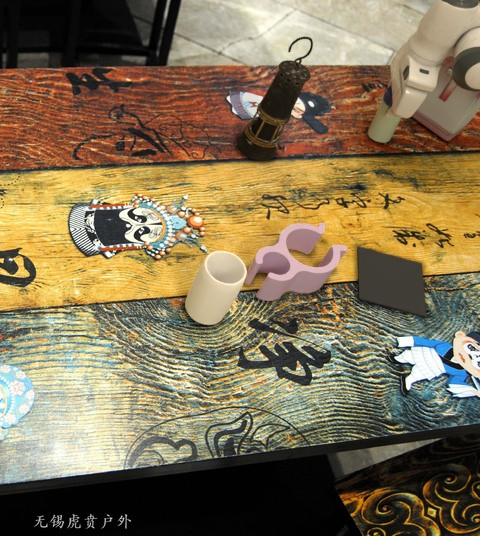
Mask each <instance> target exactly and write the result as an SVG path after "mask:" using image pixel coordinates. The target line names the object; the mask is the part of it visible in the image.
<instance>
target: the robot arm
mask: <svg viewBox="0 0 480 536" xmlns="http://www.w3.org/2000/svg"><path fill="white" fill-rule="evenodd" d="M448 56H453V57H454V63H453V68H452V78H453V80H454V82H455V83H456V84H457V85H458V86H459V87H461V88H463V89H465V90H468V91H473V92H480V0H434V2H433V3H432V4H431V6H430V7H429V8H428V10H427V11H426V12H425V14H424V15H423V17H422V18H421V20H420V21H419V23H418V26H417V29H416V31H415V32H414V33H413V34H412V35H411V36H410V37H409V38H408V40H407V41H406V42H404V43H403V44H402V45H401V47H400V48H399V49H398V50H397V52H396V53H395V55H393V58H392V59H391V61H390V65H389V67H390V70H389V71H390V80H389V82H388V85H387V88H388V87H389V86H392V101H393V104H392V107H391V108H390V107H389V108H388V109H387V111H386V117H387V118H393V117H394V116H398V117H401V119H409V118H412V117H411V116H412V115H413V114H414V113H415V112H416V110H417V109H418V108H419V107H420V105H421V104H422V103H423V101H424V100H425V98H426V96H427V94H428V92H432V91H433V90H434V89H435V87H436V85H437V79H438V74H439V71H440V68H441V64H442V63H443V61H444V60H445V59H446V57H448Z"/></svg>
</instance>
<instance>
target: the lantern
mask: <svg viewBox="0 0 480 536" xmlns="http://www.w3.org/2000/svg"><path fill="white" fill-rule="evenodd" d="M301 40H308V41H309V42H310V45H309V50H308V51H307V52H306V54H304V55H303V56H300V57H297V58H295V59H294V60H291V59H290V60H288V59H287V60H286V59H285V60H282V61H281V62H280V63H279V64H278V71H277V72H276V74H275V77H273V78H274V79H273V80H272V81H271V84H270V85H269V87H268V89H267V90H266V92H265V95H264V96H263V97H262V99H261V100H260V102H259V103H258V105H257V107H256V112H255V113H254V115H253V116H252V119H251V121H250V122H248V123H247V124H246V126H245V128H244V130H243V131H242V133H241V134H240V135H239V136H238V138H237V147H238V150H239V151H240V152H241V153H242V154H243V155H244V156H246V157H247V158H249V159H251V160H252V161H253V160H254V161H257V162H266V161H270V160H272V159H273V158H274V157H275V155H276V153H277V149H278V150H279V151H282V150H283V147H282V146H281V141H282V134H283V132H284V131H285V127H286V125H287V124H288V123H289V122H290V119H291V117H292V114H293V110H294V108H295V106H296V104H297V101H298V99H299V97H300V95H301V92H302V91H303V88H304V86H305V84H306V83H307V82H309V81H310V80H311V77H312V75H311V72H310V69H309V68H308V67H307V66H305V65H304V64H302V62H303V59H306V58H308V56H310V54H311V53H312V51H313V49H314V48H313V47H314V41H313V38H311V37H310V36H300V37H297V38H296V39H295V40H293V41H292V42H291V43H290V45H289V46H288V50H287V51H288V52H287V53H291V52H292V51H291V50H292V47H293V46H294V45H295V44H297V42H299V41H301ZM256 117H257V118H256ZM281 126H282V128H281ZM280 129H281V130H280Z"/></svg>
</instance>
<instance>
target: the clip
mask: <svg viewBox="0 0 480 536" xmlns="http://www.w3.org/2000/svg"><path fill="white" fill-rule="evenodd" d="M326 227H327V224H325V223H324V222H319V223H318V225H317V226H316V225H313V224H309V223H304V222H298V223H292V224H290V225H288V226H286V227H285V228H283V230H282V231H281V232H280V234H279V236H278V238H277V239H276V241H275V242H274V244H273V245H267V246H263V247H261V248H260V249H259V250H258V251H257V252H256V254H255V255H254V258H253V259H252V261H251V263H250V264H249V267H248V268H247V269H246V270H247V275H246V278H245V281H244V283H243V284H245V285H250V284H251V283H252V282H253V280H254V278H255V277H256V274H258V273H264V274H267V276H266V277H265V279H264V280H263V282H262V284H261V285H260V287H259V289H258V290H257V292H256V293H255V298H257V299H259V300H261V301H266V302H271V301H276V300H279V299H280V298H281V297H282V296H283V294H285V293H286V292H287V293H288V292H295V293H299V294H311V293H314V292H317V291H319V290H320V289H321V288H322V287H323V286H324V284H325V283H326V282H327V280H328V279H329V278H330V276H331V275H332V273H333V272H334V270H335V269H336V268H337V266H338V265H339V263H340V261H341V260H342V259H343V258H344V256H345V254H346V253H347V252H348V247H347V246H346V245H342V244H338V243H337V244H332V245H331V246H330V248H329V249H328V251H327V252H326V253H325V255H324V256H323V259H321V261H320V262H319V264H318V265H317V266H310V265H306V264H304V263H302V262H300V261H299V260H298V259H296V258H295V257H294V256H293V255H292V253H290V251H289V250H294V251H298V252H301V253H303V254H305V255H311V253H312V251H313V250H314V248H315V247H316V245H317V244H318V242H319V241H320V239H321V237H322V236H323V234H324V233H325V231H326Z"/></svg>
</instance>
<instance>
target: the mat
mask: <svg viewBox="0 0 480 536" xmlns="http://www.w3.org/2000/svg"><path fill="white" fill-rule="evenodd" d="M357 289H358V290H357V291H358V300H359V301H364V302H367V303H371V304H375V305H378V306H382V307H386V308H390V309H393V310H397V311H401V312H405V313H409V314H412V315H415V316H420V317H423V318H426V317H427V306H426V295H425V294H426V293H425V285H424V273H423V263H421V262H417V261H414V260H410V259H406V258H402V257H399V256H396V255H391V254H387V253H385V252H380V251H377V250H373V249H369V248H366V247H362V246H357Z"/></svg>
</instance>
